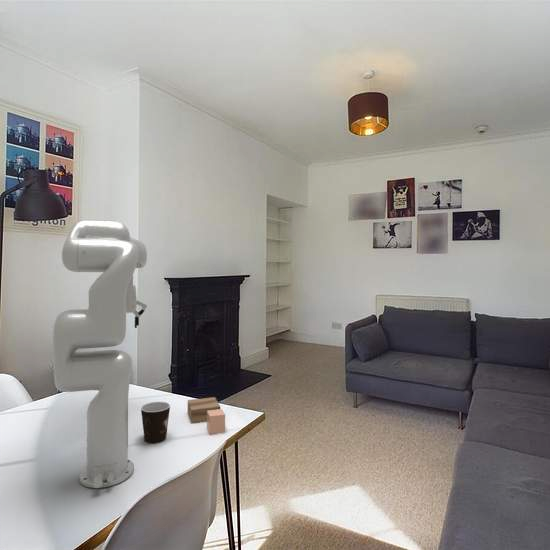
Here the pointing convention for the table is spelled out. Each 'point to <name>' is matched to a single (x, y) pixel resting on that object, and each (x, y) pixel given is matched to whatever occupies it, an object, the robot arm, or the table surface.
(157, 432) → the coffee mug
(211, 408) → the walnut box
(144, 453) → the table surface
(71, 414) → the table surface
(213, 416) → the terracotta cube
